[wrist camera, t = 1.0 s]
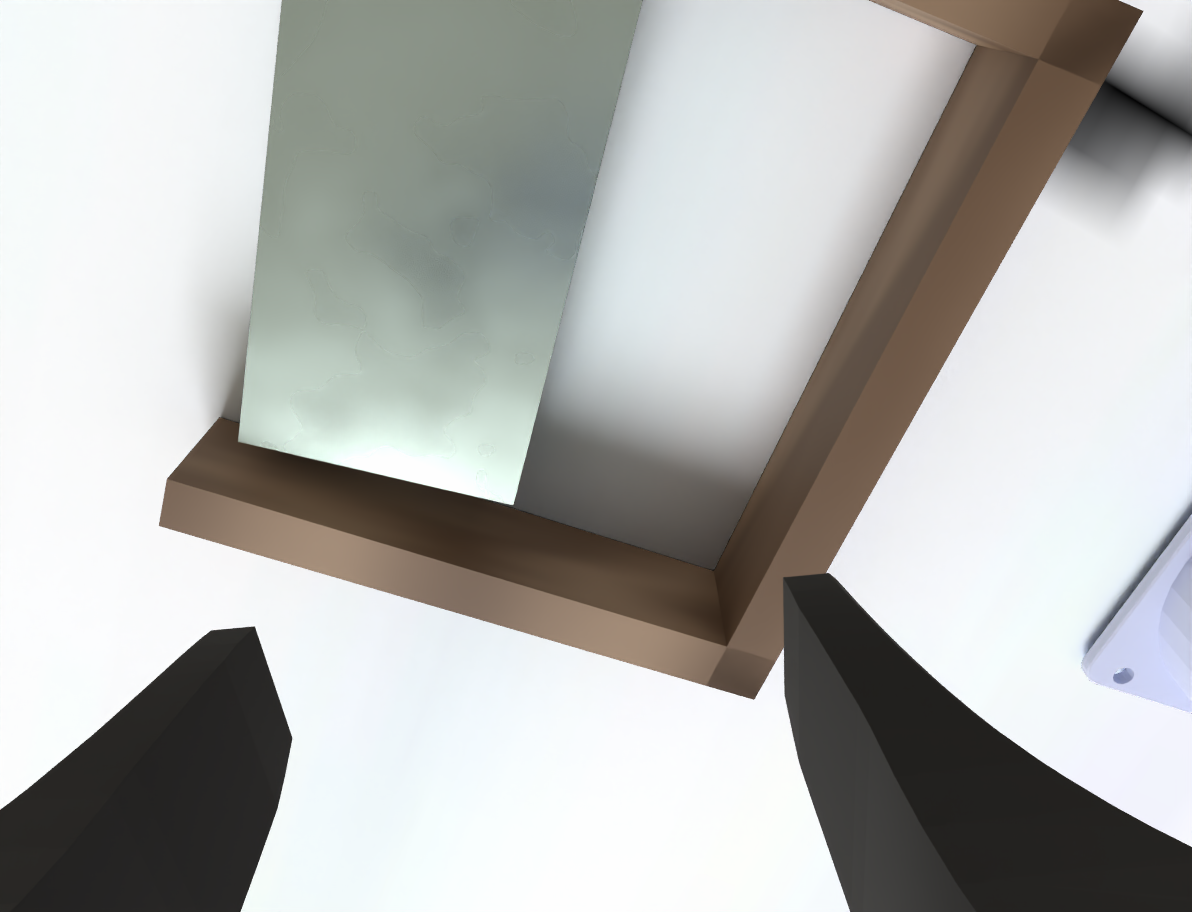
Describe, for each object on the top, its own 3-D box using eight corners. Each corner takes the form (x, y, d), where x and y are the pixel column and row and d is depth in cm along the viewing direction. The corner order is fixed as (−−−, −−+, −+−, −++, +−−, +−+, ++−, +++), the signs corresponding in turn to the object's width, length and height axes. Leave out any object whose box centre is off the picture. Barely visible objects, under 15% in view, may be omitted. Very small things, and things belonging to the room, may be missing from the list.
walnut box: (1065, 3, 18) (1143, 11, 16) (738, 620, 25) (754, 699, 22) (359, -299, 16) (310, -351, 14) (211, 460, 23) (158, 525, 20)
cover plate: (648, -42, 18) (653, -42, 16) (522, 453, 23) (513, 505, 21) (336, -134, 18) (296, -148, 15) (274, 394, 23) (237, 441, 20)
